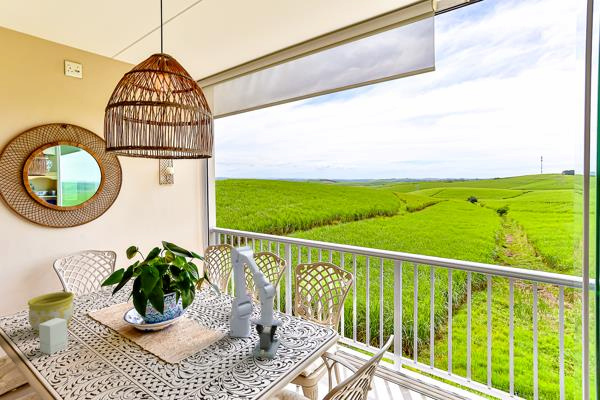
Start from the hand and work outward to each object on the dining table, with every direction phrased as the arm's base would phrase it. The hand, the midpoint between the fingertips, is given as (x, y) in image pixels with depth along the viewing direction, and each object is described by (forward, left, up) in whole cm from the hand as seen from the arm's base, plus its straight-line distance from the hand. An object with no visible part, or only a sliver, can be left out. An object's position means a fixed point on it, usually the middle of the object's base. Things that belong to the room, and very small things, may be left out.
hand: (266, 340), depth 133 cm
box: (-24, +36, -4) cm, 43 cm away
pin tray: (0, 0, -4) cm, 4 cm away
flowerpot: (-114, 0, -4) cm, 114 cm away
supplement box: (-95, -16, -4) cm, 96 cm away
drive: (0, 0, -2) cm, 2 cm away
